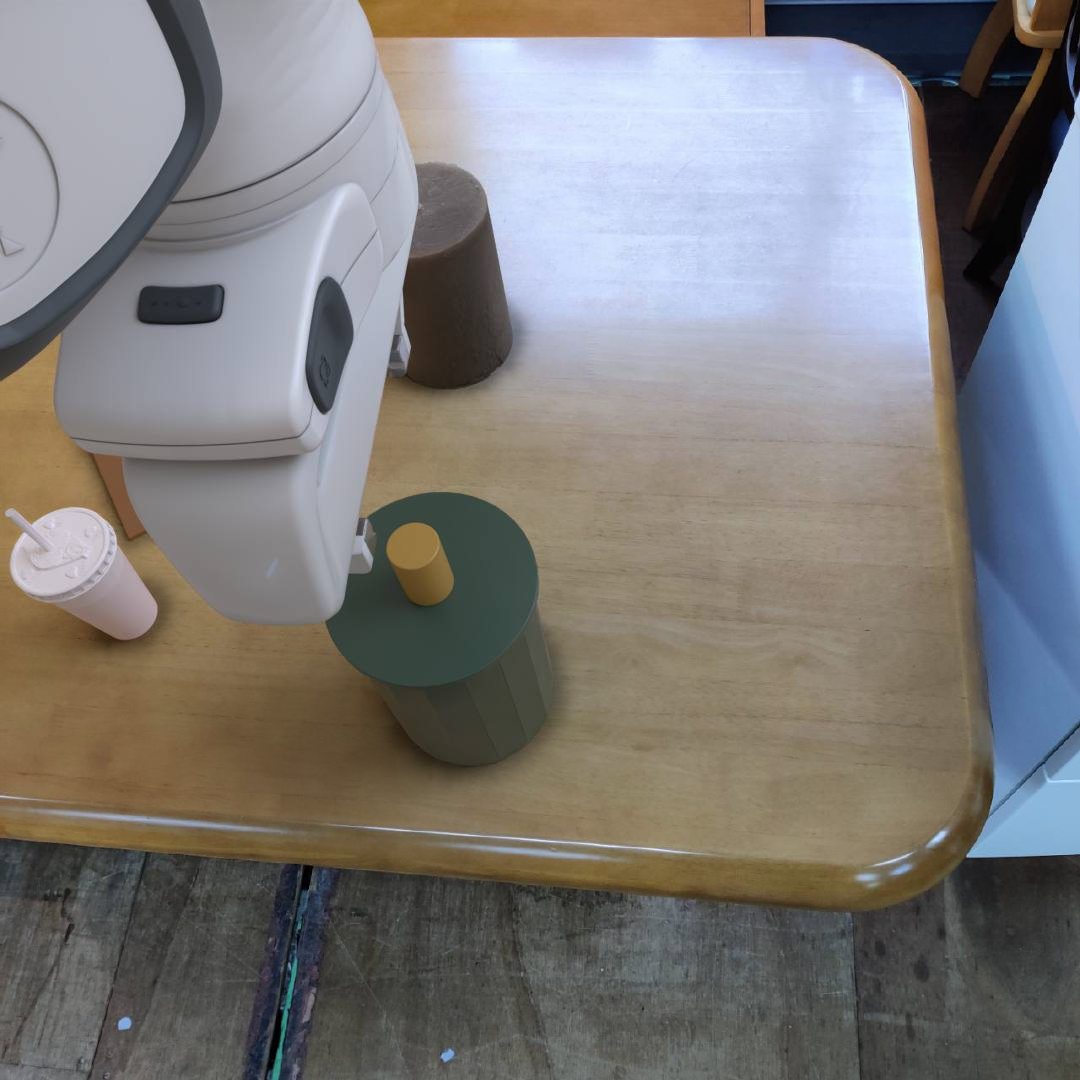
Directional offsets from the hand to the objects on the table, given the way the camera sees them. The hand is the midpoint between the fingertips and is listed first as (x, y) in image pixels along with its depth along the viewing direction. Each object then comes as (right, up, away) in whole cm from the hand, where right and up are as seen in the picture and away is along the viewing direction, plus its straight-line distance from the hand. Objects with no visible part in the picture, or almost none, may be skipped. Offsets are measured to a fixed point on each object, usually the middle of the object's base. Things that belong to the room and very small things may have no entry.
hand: (373, 455), depth 39 cm
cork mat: (-21, +5, +36) cm, 42 cm away
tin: (+3, -13, +23) cm, 27 cm away
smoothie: (-22, -9, +28) cm, 37 cm away
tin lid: (+1, -6, +10) cm, 12 cm away
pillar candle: (0, +12, +38) cm, 40 cm away
